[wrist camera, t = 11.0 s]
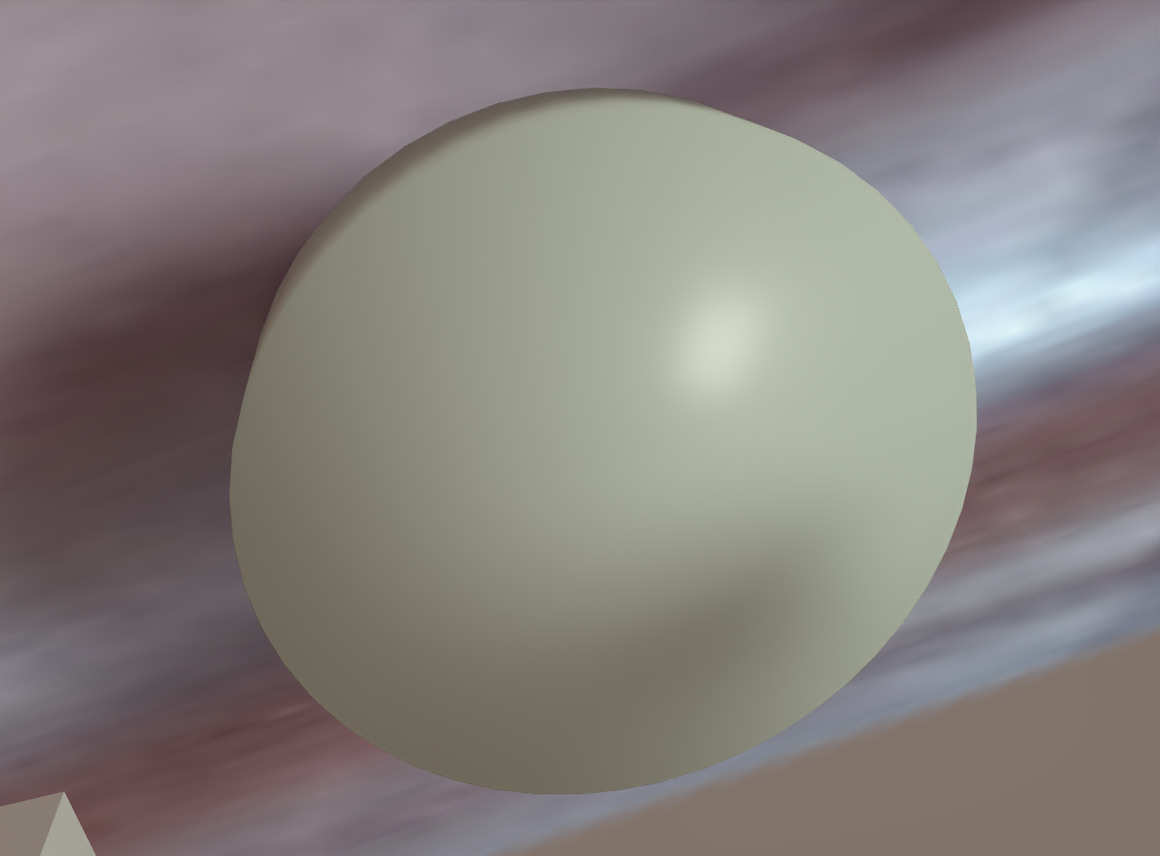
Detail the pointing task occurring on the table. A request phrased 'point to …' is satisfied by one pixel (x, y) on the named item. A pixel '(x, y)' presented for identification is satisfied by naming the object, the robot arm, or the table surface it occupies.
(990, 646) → the table surface
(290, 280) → the lid
